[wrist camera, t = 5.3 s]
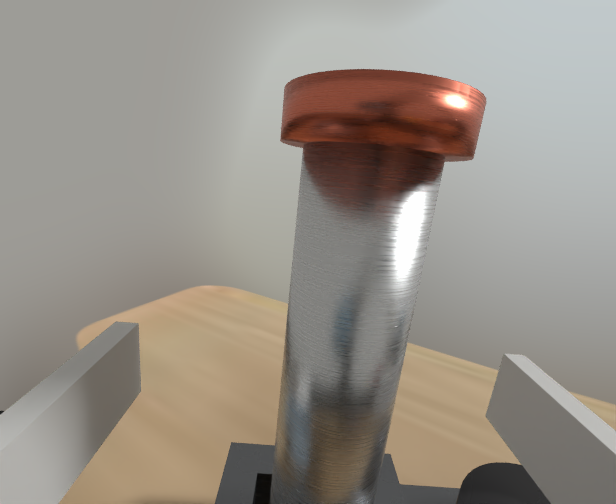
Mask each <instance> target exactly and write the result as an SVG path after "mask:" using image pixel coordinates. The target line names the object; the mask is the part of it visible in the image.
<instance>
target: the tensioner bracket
mask: <svg viewBox="0 0 616 504" xmlns="http://www.w3.org/2000/svg"><path fill="white" fill-rule="evenodd" d="M274 451H275V446H273V445H260V444H246V443H233V442H231V446H230V450H229V453H228V457H227V461H226V464H225V468H224V472H223V476H222V479H221V483H220V487H219V490H218V494H217V498H216V501H215V504H269V503H270V493H271V482H272V472H273V461H274ZM374 504H551V503H550V502H549V500H548V499H547V498H546V496H545V495H544V494H543V492H542V491H541V490H540V488H539V487H538V486H537V484H536V483H535V482H534V480H533V479H532V478H531V476H530V475H529V474H528V472H527V471H526V470H525V468H524V467H523V466H522V465H518V464H512V463H489V464H485V465H482V466H479V467H477V468H475V469H473V470H472V471H471V472H470V473H469V474H468V475H467V476H466V478H465V479H464V480H463V483H462V485H461V488H460V489H458V488H444V487H430V486H415V485H401V484H399V481H398V478H397V474H396V471H395V468H394V464H393V461H392V458H391V455H390V454H384V458H383V462H382V467H381V472H380V477H379V482H378V487H377V492H376V496H375V501H374Z"/></svg>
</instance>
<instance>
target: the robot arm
mask: <svg viewBox="0 0 616 504" xmlns="http://www.w3.org/2000/svg"><path fill="white" fill-rule="evenodd" d="M140 392H141V376H140V350H139V323H127V322H115V323H114V324H112V325H111V326H110V327H109V328H107V329H106V330H105V331H104V332H102V333H101V334H100V335H99V336H97V337H96V338H95V339H94V340H92V341H91V342H90V343H89V344H88V345H86V346H85V347H84V348H83V349H81V350H80V351H79V352H78V353H76V354H75V355H74V356H73V357H71V358H70V359H69V360H68V361H66V362H65V363H64V364H63V365H61V366H60V367H59V368H58V369H57V370H55V371H54V372H53V373H52V374H50V375H49V376H48V377H47V378H45V379H44V380H43V381H42V382H40V383H39V384H38V385H37V386H36V387H34V388H33V389H32V390H30V391H29V392H28V393H27V394H25V395H24V396H23V397H22V398H20V399H19V400H18V401H17V402H16V403H14V404H13V405H12V406H11V407H9V408H8V409H7V410H6V411H0V504H58V503H59V502H60V501H61V499H62V498H63V497H64V495H65V494H66V493H67V491H68V490H69V488H70V487H71V486H72V484H73V483H74V482H75V480H76V479H77V478H78V476H79V475H80V474H81V472H82V471H83V469H84V468H85V467H86V465H87V464H88V463H89V461H90V460H91V459H92V457H93V456H94V454H95V453H96V452H97V450H98V449H99V448H100V446H101V445H102V444H103V442H104V441H105V439H106V438H107V437H108V435H109V434H110V433H111V431H112V430H113V429H114V427H115V426H116V424H117V423H118V422H119V420H120V419H121V418H122V416H123V415H124V414H125V412H126V411H127V409H128V408H129V407H130V405H131V404H132V403H133V401H134V400H135V399H136V397H137V396H138V394H139V393H140ZM486 418H487V419H488V420H489V422H490V423H491V424H492V426H493V427H494V428H495V430H496V431H497V432H498V434H499V435H500V436H501V438H502V439H503V440H504V442H505V443H506V444H507V446H508V447H509V448H510V450H511V451H512V452H513V454H514V455H515V456H516V458H517V459H518V460H519V462H520V463H521V464H522V466H523V467H524V468H525V470H526V471H527V472H528V474H529V475H530V476H531V478H532V479H533V480H534V482H535V483H536V484H537V486H538V487H539V488H540V490H541V491H542V492H543V494H544V495H545V496H546V498H547V499H548V500H549V502H550V503H551V504H616V431H615V430H614V429H613V428H611V427H610V426H609V425H608V424H607V423H605V422H604V421H603V420H602V419H601V418H599V417H598V416H597V415H596V414H595V413H593V412H592V411H591V410H590V409H588V408H587V407H586V406H585V405H584V404H582V403H581V402H580V401H579V400H578V399H576V398H575V397H574V396H573V395H572V394H570V393H569V392H568V391H567V390H565V389H564V388H563V387H562V386H561V385H559V384H558V383H557V382H556V381H555V380H553V379H552V378H551V377H550V376H549V375H547V374H546V373H545V372H544V371H542V370H541V369H540V368H539V367H538V366H536V365H535V364H534V363H533V362H532V361H530V360H529V359H528V358H527V357H526V356H524V355H515V354H504V355H503V358H502V362H501V365H500V369H499V372H498V375H497V379H496V382H495V386H494V389H493V392H492V396H491V399H490V403H489V406H488V409H487V413H486Z"/></svg>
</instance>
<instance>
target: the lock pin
mask: <svg viewBox="0 0 616 504" xmlns="http://www.w3.org/2000/svg"><path fill="white" fill-rule="evenodd" d="M485 105H486V98H485V96H484V94H483V93H481V92H480V91H479V90H477V89H475V88H473V87H471V86H469V85H466V84H464V83H461V82H458V81H454V80H450V79H447V78H442V77H437V76H433V75H427V74H421V73H414V72H405V71H394V70H393V71H392V70H374V69H373V70H372V69H353V70H351V69H350V70H334V71H325V72H318V73H313V74H308V75H304V76H301V77H298V78H295V79H293V80H291V81H290V82H288V83H287V84H286V86H285V89H284V102H283V115H282V127H281V140H280V141H281V142H283V143H285V144H288V145H292V146H296V147H300V148H303V156H302V167H301V177H300V188H299V199H298V209H297V219H296V220H297V221H296V230H295V242H294V251H293V262H292V273H291V284H290V293H289V303H288V314H287V324H286V335H285V345H284V356H283V366H282V377H281V388H280V398H279V409H278V419H277V430H276V440H275V451H274V461H273V472H272V482H271V493H270V503H269V504H374V501H375V496H376V492H377V487H378V482H379V477H380V472H381V467H382V462H383V458H384V453H385V448H386V443H387V438H388V433H389V429H390V424H391V419H392V414H393V409H394V404H395V399H396V395H397V390H398V385H399V380H400V375H401V370H402V365H403V361H404V356H405V351H406V346H407V341H408V336H409V331H410V327H411V321H412V317H413V312H414V307H415V302H416V298H417V293H418V287H419V283H420V278H421V273H422V268H423V263H424V259H425V253H426V249H427V244H428V239H429V234H430V230H431V225H432V220H433V215H434V210H435V205H436V200H437V196H438V191H439V186H440V181H441V176H442V171H443V167H444V162H448V161H449V162H453V161H467V160H472V159H473V158H474V154H475V149H476V145H477V140H478V136H479V132H480V127H481V123H482V118H483V114H484V110H485Z"/></svg>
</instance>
